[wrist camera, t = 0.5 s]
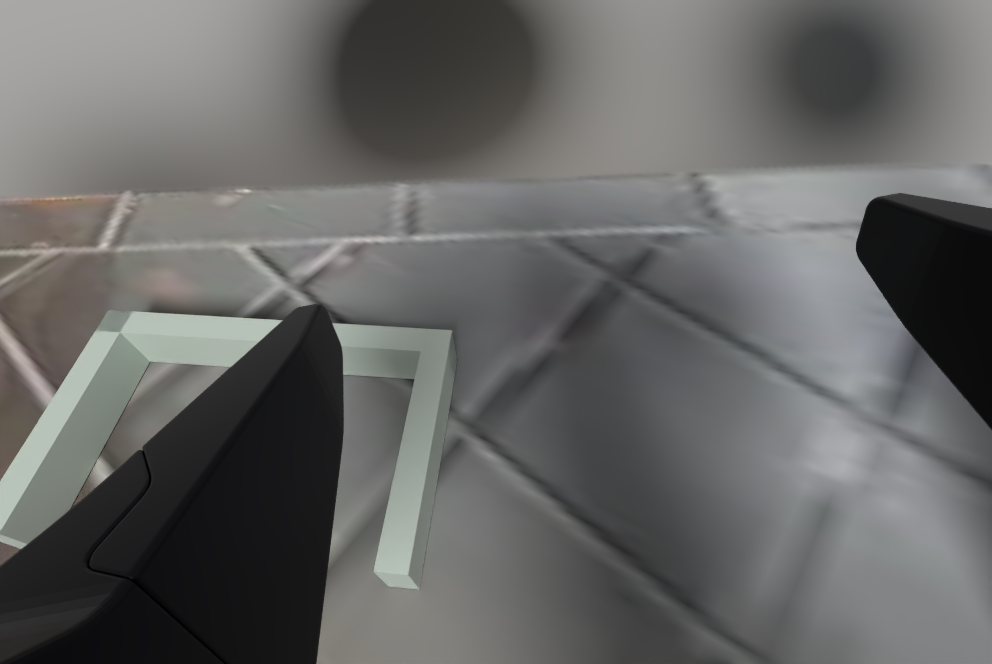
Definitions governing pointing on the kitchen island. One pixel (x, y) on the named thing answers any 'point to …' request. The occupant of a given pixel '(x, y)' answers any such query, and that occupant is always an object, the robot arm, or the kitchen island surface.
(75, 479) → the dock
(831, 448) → the kitchen island surface
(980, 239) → the robot arm
